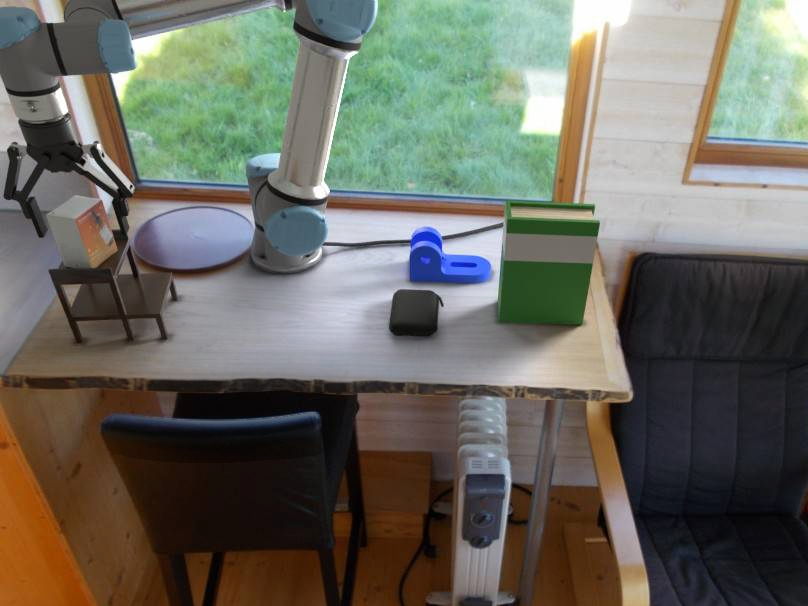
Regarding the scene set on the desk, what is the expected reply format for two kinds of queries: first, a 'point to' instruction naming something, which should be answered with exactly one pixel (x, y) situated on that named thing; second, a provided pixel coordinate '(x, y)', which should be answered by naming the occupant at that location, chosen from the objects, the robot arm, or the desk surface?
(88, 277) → the rack
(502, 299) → the hardback book
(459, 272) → the bracket
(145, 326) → the desk surface
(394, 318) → the carrying case
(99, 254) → the small box
